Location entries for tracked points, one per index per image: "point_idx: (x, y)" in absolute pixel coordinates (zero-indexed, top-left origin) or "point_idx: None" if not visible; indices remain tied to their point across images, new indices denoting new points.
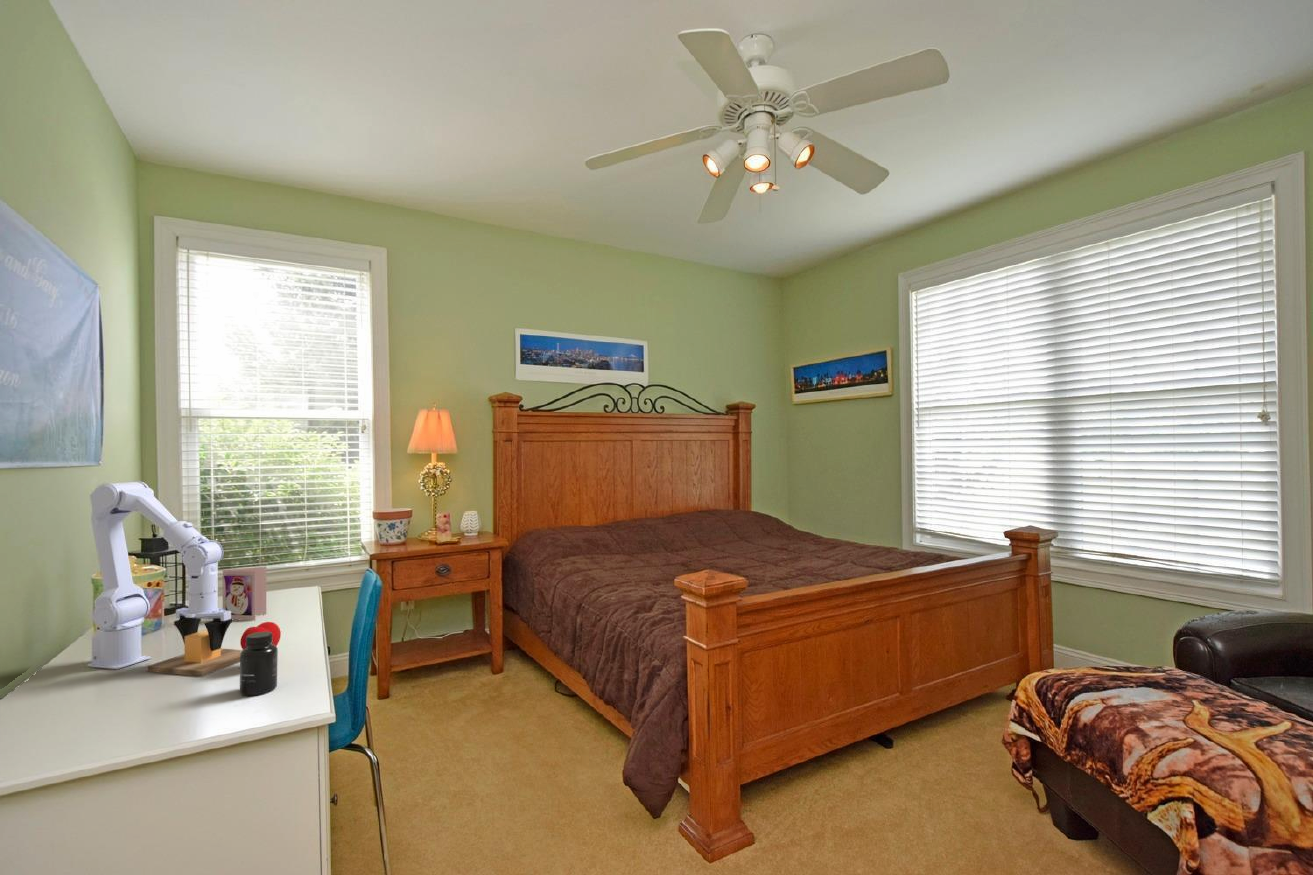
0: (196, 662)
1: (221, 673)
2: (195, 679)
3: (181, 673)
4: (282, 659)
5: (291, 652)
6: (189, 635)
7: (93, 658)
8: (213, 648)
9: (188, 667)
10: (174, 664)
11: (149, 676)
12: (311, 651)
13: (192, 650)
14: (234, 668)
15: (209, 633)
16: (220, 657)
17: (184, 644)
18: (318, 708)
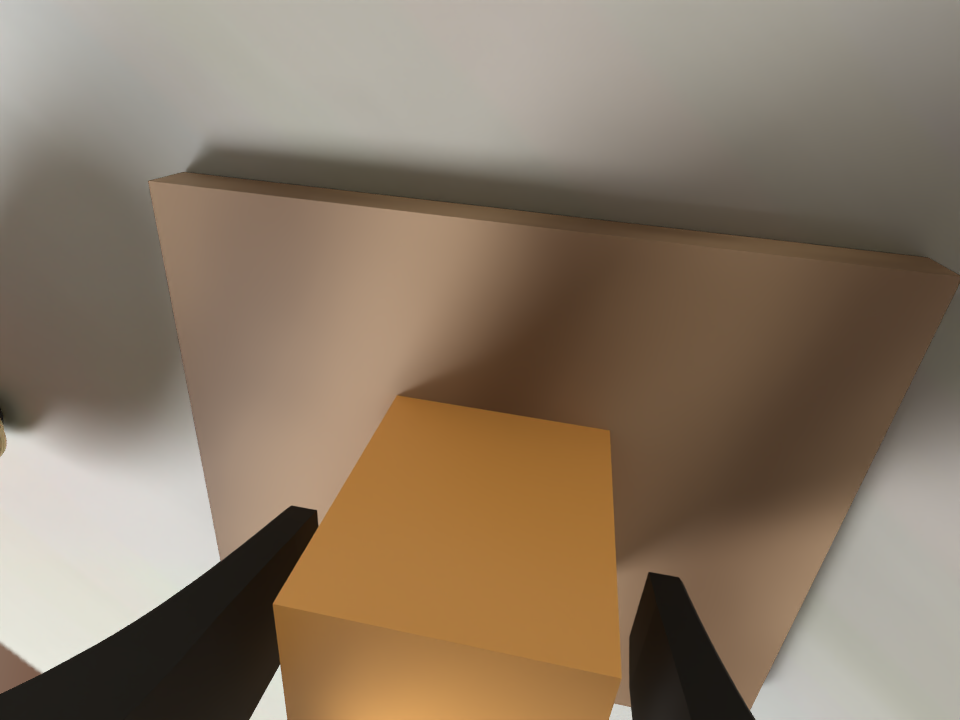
0: (455, 404)
1: (108, 261)
2: (163, 87)
3: (433, 203)
4: (20, 531)
5: (103, 632)
6: (570, 699)
7: None
8: (273, 522)
9: (396, 269)
10: (639, 342)
11: (762, 101)
12: (15, 637)
13: (485, 489)
14: (132, 373)
15: (143, 665)
16: None
17: (696, 613)
18: None
